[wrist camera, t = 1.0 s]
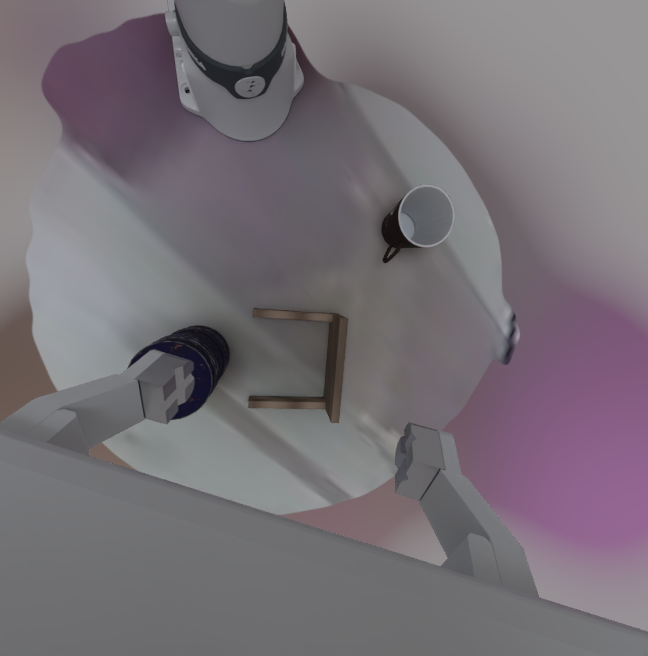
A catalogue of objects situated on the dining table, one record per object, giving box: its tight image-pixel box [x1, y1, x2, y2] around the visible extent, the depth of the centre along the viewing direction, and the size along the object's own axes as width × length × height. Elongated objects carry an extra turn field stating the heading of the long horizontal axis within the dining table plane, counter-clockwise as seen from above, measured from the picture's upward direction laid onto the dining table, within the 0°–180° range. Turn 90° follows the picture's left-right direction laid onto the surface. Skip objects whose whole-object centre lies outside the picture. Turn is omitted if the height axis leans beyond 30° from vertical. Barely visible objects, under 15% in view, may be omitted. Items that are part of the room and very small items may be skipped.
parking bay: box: [248, 308, 348, 423], centre depth 50 cm, size 14×16×8 cm
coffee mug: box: [382, 185, 455, 263], centre depth 49 cm, size 12×9×10 cm
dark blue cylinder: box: [127, 326, 229, 420], centre depth 44 cm, size 10×10×15 cm
